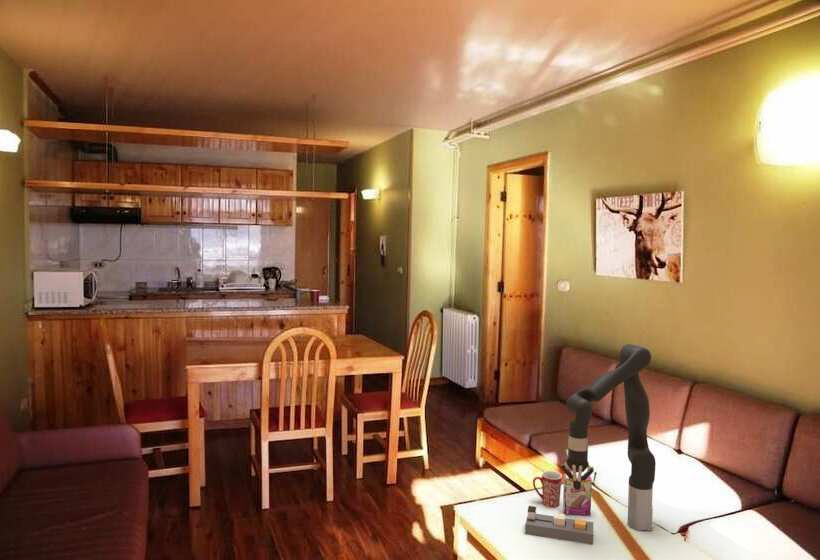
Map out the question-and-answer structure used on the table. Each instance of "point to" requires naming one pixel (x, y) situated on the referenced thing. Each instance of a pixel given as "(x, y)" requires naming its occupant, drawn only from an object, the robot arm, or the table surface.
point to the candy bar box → (577, 497)
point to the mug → (550, 488)
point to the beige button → (559, 519)
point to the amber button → (580, 524)
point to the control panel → (559, 529)
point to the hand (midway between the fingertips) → (576, 489)
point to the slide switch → (531, 512)
